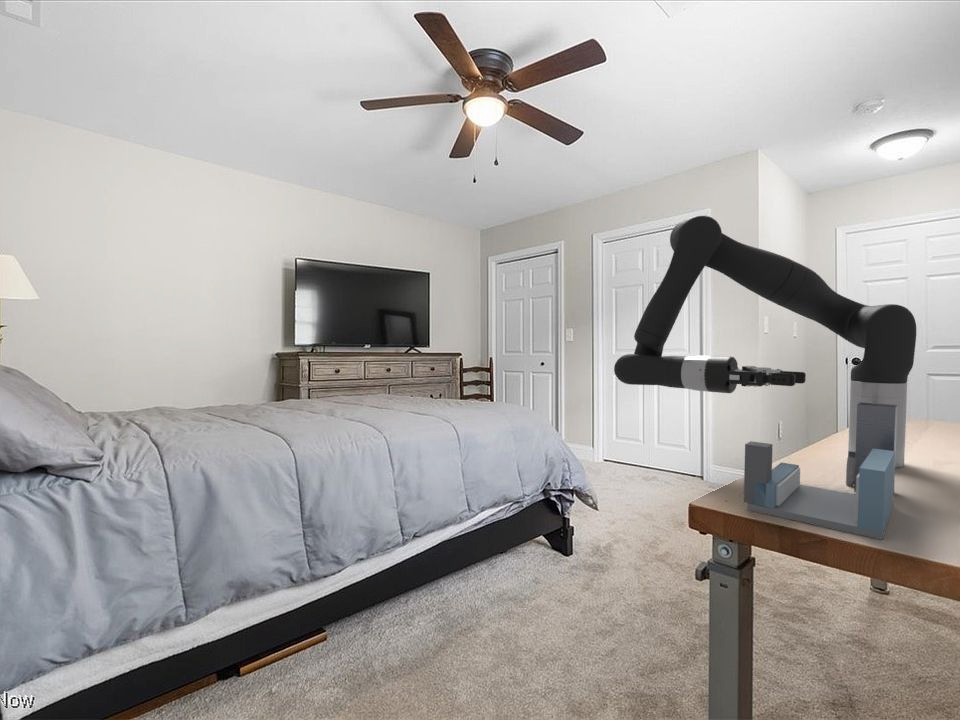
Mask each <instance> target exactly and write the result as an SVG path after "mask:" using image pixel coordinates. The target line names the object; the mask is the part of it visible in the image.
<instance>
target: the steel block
mask: <svg viewBox="0 0 960 720" xmlns="http://www.w3.org/2000/svg"><path fill="white" fill-rule="evenodd" d="M896 432H897V405H890V404H876V403H862V402H860V403H859V404H857V425H856V454H855V484H853V487H854V490H853V491H854V492H856V477H857V475H858V474H859V469H860V466H861V465H862V464H863V462H864V461H865V459H866V458H867V456H868V455H869V454H870V452H871V451H872V449H873V448H874V449H882V450H890V451H895V459H896ZM895 477H896V468H895V460H894V487H893V495H894V494H895V483H896V481H895V479H896V478H895Z"/></svg>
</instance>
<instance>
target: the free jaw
mask: <svg viewBox="0 0 960 720" xmlns="http://www.w3.org/2000/svg"><path fill="white" fill-rule="evenodd" d="M743 476H744V479H743V481H744V482H743V483H744V484H743V503H746V504H747V503H750V504H755V505H759V506H764V507H769V508H775V507H776V506H779V505H780V504H781V503H782V502H784V501H785V500H786V499H787V498H788V497H789V496H790V495H791V494H792V493H793V492H794V491H795V490H796V489H797V488H798V487H799V486H800V484H801V467H800V465H799V464H795V463H787V462H779V464H777V465H776V466H775V467H773V443H766V442H759V441H753V440H751V441H749V442H746V443H745V444H744V475H743Z"/></svg>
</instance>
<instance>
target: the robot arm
mask: <svg viewBox="0 0 960 720" xmlns="http://www.w3.org/2000/svg"><path fill="white" fill-rule="evenodd" d="M669 243H670V244H669V245H670V247H671V249H672V251H673V253H672V256H671V261H670V263H669V266H668V268H667V271H666V273H665V275H664V276H663V279H662V281H661V282H660V284H659V286H658V288H657V289H656V291H655V292H654V294H653V295H652V297H651V299H650V301H648V304H647V306H646V307H645V310H644V312H643V314H642V316H641V318H640V320H639V322H638V324H637V327H636V329H635V332H634V334H633V337H634V340H635V342H636V346H635V350H634V353H627V354H625V355H622V356H620V357H619V358H618V359H617V360H616V362H615V363H614V369H613V371H614V375H615V377H616V378H617V380H619V381H620V382H621V383H623V384H626V385H633V386H634V385H635V386H662V387H667V388H676V389H685V390H686V389H687V390H691V391H698V392H706V393H707V392H710V393H722V394H732V393H733V392H735V390H736V389H737V385H741V387H755V388H756V387H763V386H765V387H769V386H782V387H783V386H784V387H794V386H795V385H796V384H800V385H801V384H805V383H806V381H807V380H806V377H807V376H806V375H807V374H806V373H805V372H804V371H793V370H792V371H790V370H789V371H786V370H782V369H781V368H776V369H773V368H771V367H765V366H763V367H762V366H755V365H746V366H745V365H742V366H741V368H739V366H738V361H737V359H736V358H735V357H734V356H727V355H726V356H725V355H722V356H721V355H719V356H718V355H690V356H689V355H666V356H665V355H664V356H663V353H664V352H663V351H664V346H665V344H666V342H667V340H668V339H669V336H670V333H671V331H672V330H673V328H674V325H675V324H676V321H677V318H678V316H679V314H680V312H681V309H682V308H683V306H684V304H685V302H686V300H687V298H688V295H689V294H690V292H691V290H692V287H693V286H694V284H695V283H696V281H697V279H698V278H699V276H700V274H701V273H702V272H703V270H704V269H705V267H707V268H708V269H709V268H710V269H712V270H714V271H717V272H718V273H721V274H723V275H724V276H727V277H728V278H729V279H731V280H732V281H734V282H736V283H737V284H738V285H740V286H742V287H744V288H745V289H747V290H749V291H751V292H753V293H754V294H757V295H758V296H759V297H761V298H764V299H765V300H767V301H770V302H771V303H773V304H776V305H778V306H780V307H782V308H785V309H787V310H789V311H791V312H793V313H795V314H797V315H800V316H801V317H804V318H807V319H809V320H810V321H811V320H812V321H814V322H817V323H818V324H820V325H822V326H823V327H824V328H827V329H828V330H829V331H831V332H833V333H835V334H836V335H838V336H839V337H841V338H842V339H844V340H845V341H847V342H849V343H850V344H852V345H854V346H856V347H858V348H862V349H863V350H864V351H863V358H862V360H861V361H860V362H859V363H858V364H857V365H855V366H853V367H852V368H851V370H850V386H849V387H850V390H849V392H850V394H849V417H848V419H849V421H848V440H847V441H848V446H847V447H848V448H847V453H848V452H849V451H853V452H856V425H857V404H859V403H860V402H862V403H876V404H890V405H897V432H896V459H895V469H897V468H903V467H904V466H905V455H906V454H905V450H906V432H907V431H906V426H907V424H906V423H907V402H908V376H909V374H910V372H911V370H912V369H913V366H914V361H915V351H916V342H917V323H916V319H915V316H914V314H913V313H912V312H911V311H910V309H908V308H907V307H905V306H904V305H900V304H891V303H890V304H879V305H867V304H864V303H860V302H857V301H855V300H853V299H850V298H848V297H846V296H843V295H842V294H839V293H838V292H836V291H835V290H833V289H832V288H831V287H830V286H829V285H828V284H827V282H826V281H825V280H824V279H823V278H822V277H821V276H820V275H819V274H818V273H816V271H814V270H812V269H811V268H809V267H807V266H805V265H804V264H801V263H800V262H797V261H795V260H793V259H791V258H790V257H789V258H788V257H786V256H784V255H781V254H777V253H775V252H772V251H770V250H766V249H762V248H759V247H755V246H751V245H748V244H744V243H742V242H739V241H738V240H735V239H733V238H731V237H729V236H728V235H726V234H724V233H723V232H722V228H721V226H720V224H719V222H718V221H717V220H716V219H715V218H713V217H711V216H709V215H706V214H705V215H701V214H700V215H695V216H691V217H690V216H689V217H687V218H685V219H683V220H681V221H679V222H678V223H677V224H676V225H675V226H674V227H673V228H672V230H671V233H670V235H669Z"/></svg>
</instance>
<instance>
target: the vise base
mask: <svg viewBox="0 0 960 720" xmlns="http://www.w3.org/2000/svg"><path fill="white" fill-rule="evenodd" d="M894 460H895V451H890V450H882V449H874V448H873V449H872V451H871V452H870V454H869V455H868V456H867V458H866V459H865V461H864V462H863V464H862V465H861V466H860V469H859V474H858V475H857V477H856V491H855V493H850V492H845V491H839V490H833V489H827V488H822V487H817V486H811V485H806V484H801V483H800V486H799V487H798V488H797V489H796V490H795V491H794V492H793V493H792V494H791V495H790V496H789V497H788V498H787V499H786V500H785V501H784V502H782V503H781V504H780V505H779V506H776V507H775V508H769V507H764V506H759V505H755V504H750V503H746V504H747V506H746V508H747V511H752V512H755V513H761V514H763V515H764V514H765V515H769V516H774V517H779V518H784V519H787V520H791V521H792V520H793V521H797V522H801V523H805V524H810V525H815V526H819V527H822V528H827V529H833V530H837V531H842V532H846V533H850V534H854V535H860V536H863V537H868V538H872V539H877V540H881V541H883V539H884V537H885V533H886V530H887V527H888V525H889V522H890V519H891V515H892V512H893V509H894V494H893V487H894V488H895V485H894Z"/></svg>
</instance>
